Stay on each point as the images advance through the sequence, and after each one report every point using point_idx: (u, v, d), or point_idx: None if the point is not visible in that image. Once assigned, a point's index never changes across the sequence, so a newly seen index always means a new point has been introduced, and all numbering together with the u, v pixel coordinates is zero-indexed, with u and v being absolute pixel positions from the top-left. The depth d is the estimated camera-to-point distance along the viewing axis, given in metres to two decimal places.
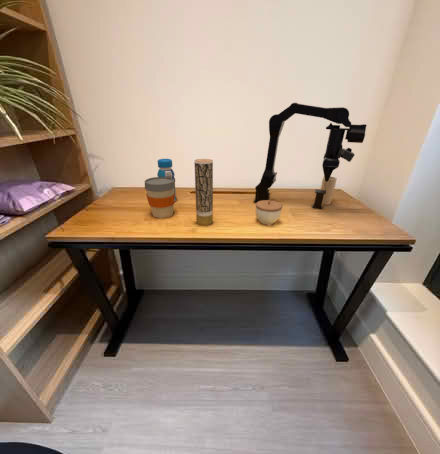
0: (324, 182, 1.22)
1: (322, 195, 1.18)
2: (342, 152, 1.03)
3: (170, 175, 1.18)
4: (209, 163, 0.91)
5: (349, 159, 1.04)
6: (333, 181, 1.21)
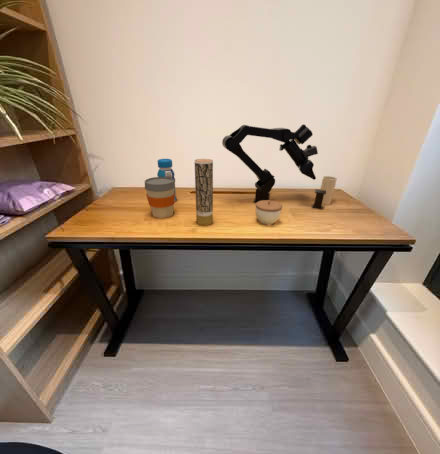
0: (324, 182, 1.22)
1: (322, 195, 1.18)
2: (306, 153, 1.16)
3: (170, 175, 1.18)
4: (209, 163, 0.91)
5: (315, 152, 1.16)
6: (333, 181, 1.21)
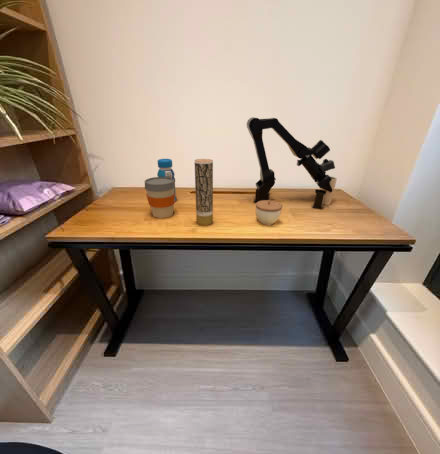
0: None
1: (322, 195, 1.18)
2: (324, 167, 1.19)
3: (170, 175, 1.18)
4: (209, 163, 0.91)
5: (333, 167, 1.18)
6: (333, 181, 1.21)
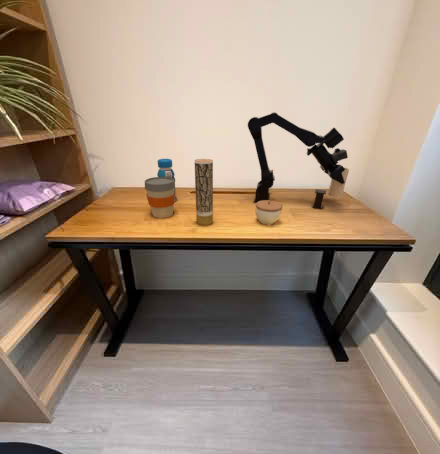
0: None
1: (322, 195, 1.18)
2: (336, 157, 1.11)
3: (170, 175, 1.18)
4: (209, 163, 0.91)
5: (345, 156, 1.10)
6: (345, 172, 1.13)
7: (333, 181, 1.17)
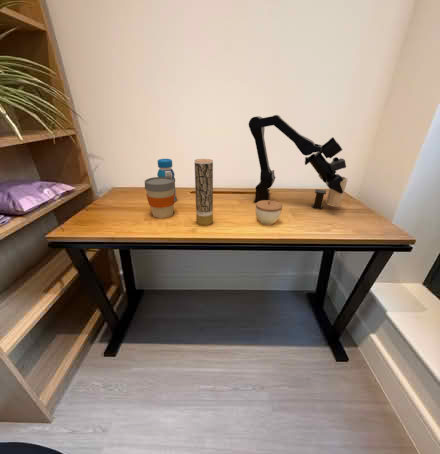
0: None
1: (322, 195, 1.18)
2: (334, 167, 1.09)
3: (170, 175, 1.18)
4: (209, 163, 0.91)
5: (344, 166, 1.09)
6: (344, 181, 1.11)
7: (331, 190, 1.15)
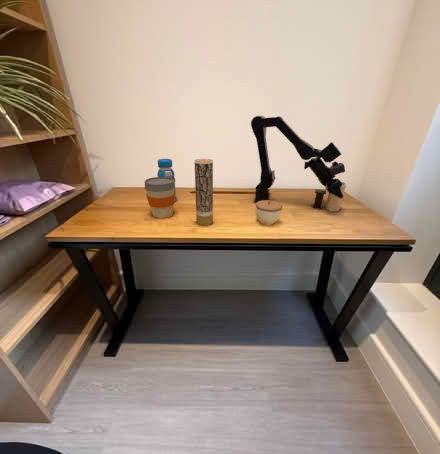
0: None
1: (322, 195, 1.18)
2: (333, 171, 1.10)
3: (170, 175, 1.18)
4: (209, 163, 0.91)
5: (343, 170, 1.10)
6: (342, 187, 1.13)
7: (330, 195, 1.16)
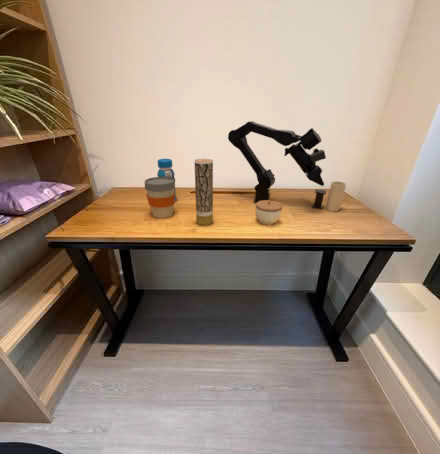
0: (333, 188, 1.14)
1: (322, 195, 1.18)
2: (313, 158, 1.08)
3: (170, 175, 1.18)
4: (209, 163, 0.91)
5: (323, 157, 1.08)
6: (342, 187, 1.13)
7: (330, 195, 1.16)
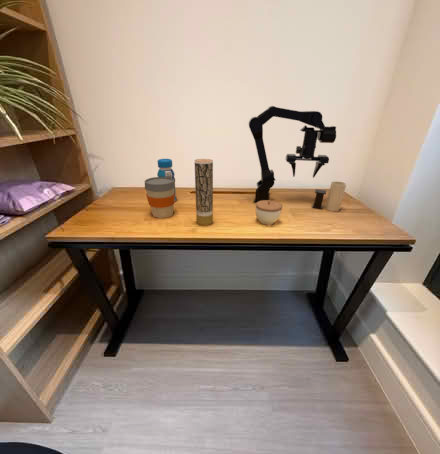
0: (333, 188, 1.14)
1: (322, 195, 1.18)
2: None
3: (170, 175, 1.18)
4: (209, 163, 0.91)
5: None
6: (342, 187, 1.13)
7: (330, 195, 1.16)
